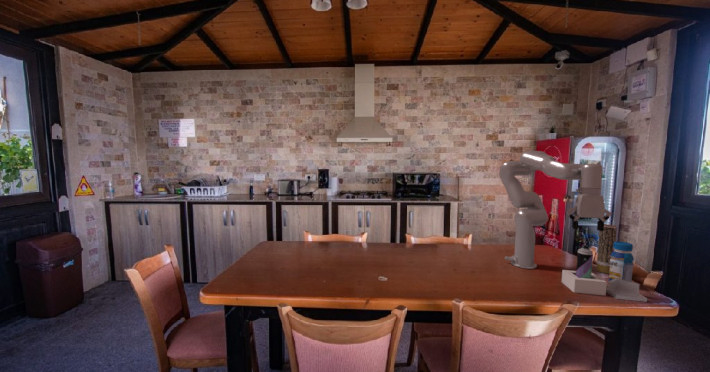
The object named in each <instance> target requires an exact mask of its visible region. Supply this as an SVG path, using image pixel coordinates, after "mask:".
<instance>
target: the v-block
mask: <svg viewBox="0 0 710 372" xmlns="http://www.w3.org/2000/svg"><path fill="white" fill-rule="evenodd" d="M606 294H608V295H610V296H611V297H613V298H614V299H615V300H623V301H624V300H626V301H633V302H634V301H635V302H645V303H648V297H645V296H644V295H643V294H641V293H640V283H637V282H633V281H631V282H630V281H626V280H622V279H616V278H615V279H613V280H611V281H608V285H606Z"/></svg>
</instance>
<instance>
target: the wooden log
mask: <svg viewBox="0 0 710 372" xmlns="http://www.w3.org/2000/svg"><path fill="white" fill-rule="evenodd" d="M617 228H618V226H617V225H614V224H608V223H607V224H606V223H604V229H603V231H599V230H598V243H597V254H596V255H597V257H596V268H595V269H596V271H597V272H599V273H601V272H602V274H606V275H609V273H610V259H611V256H610V255H611V253H612V252H613V251H614V250H615V249H613V244H614V242H617Z"/></svg>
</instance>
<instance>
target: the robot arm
mask: <svg viewBox="0 0 710 372" xmlns="http://www.w3.org/2000/svg"><path fill="white" fill-rule="evenodd" d="M536 171H540V172H542V173H544V174H545V175H547V176H549V177H551V178H552V177H553V178H556V179H558V180H563V181H565V180H567V181H577V180H578V181H579V187H578V188H576V189H575V192H576V193H578V194H577V196H576V198H575V203H574V207H572V208H569V209H566V210H565V212H566V214H567V216H568V217H569V219H570V220H571V227H572V230H575V231H578V230H579V221H578V220H579V219H580V218H584V219H585V218H587V219H588V218H589V219H597V220H598V221H597V223H596V224H597V225H596V231H598V232H599V231H603V229H604V224H605V223H606V222H607V220H609V219H610V217H611V216H612V215H613V213H612V212H611V211H609V210H607V209H606V208H605V199H604V195H602V183H603V181H602V180H603V165H601V164H599V163H598V164H595V163H584V164H583V163H564V162H559V161H557V160H556V159H555V157H553V156H552V155H549V154H547V152H545V151H541V150H528V151H523V152H522V154H521V155H520V156H519V160H508V161H504V162H503V163H502V164H501V165H500V167H499V171H498V172H499V179H500V181H501V182H502V184H503V186H504V189H505V191H506V193H507V196H508V198H509V201H510V203H511V205H512V207H513V208H516V209H519V210H517V211H516V212H515V214H514V218H513V219H514V223H515V234H514V235H515V238H514V239H515V240H514V241H515V242H514V254H512V255H511V256H506V255H505V256H504V260H506V261H509V262H510V264H511V265H512V266H514V267H517V268H520V269H528V270H529V269H531V270H533V269H536V268H537V267H538V266H537V265H538V264H536V263H535V250H536V249H535V246H536V233H535V230H534V227H538V226H540V227H541V226H543V225H546V223H548V220H549V215H548V213H547V210H546V207H545V206H544V203H543V201H542V199H541V197H540V195H539V194H538V193H536V192H534V191H531V190H528V191H527V190H525V189H524V187H523V185H522V183H521V181H520V180H519V179H518V178H516V176H519V177H520V176H521V177H522V176H529V175H531V174H533V173H534V172H536ZM572 213H573V214H572Z"/></svg>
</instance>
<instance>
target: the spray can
mask: <svg viewBox="0 0 710 372" xmlns="http://www.w3.org/2000/svg"><path fill="white" fill-rule="evenodd" d="M576 254H577V255H576V256H577V257H576V270H575V271H576V276H577V277H578V278H587V279H591V272H592V271H593V269H592V268H593V258H594V257H593V256H594V252H593V250H591V249H590V248H589V246H588V245H587V244H583V245H582V247H581V248H579V249H577V253H576ZM592 273H593V272H592Z"/></svg>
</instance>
